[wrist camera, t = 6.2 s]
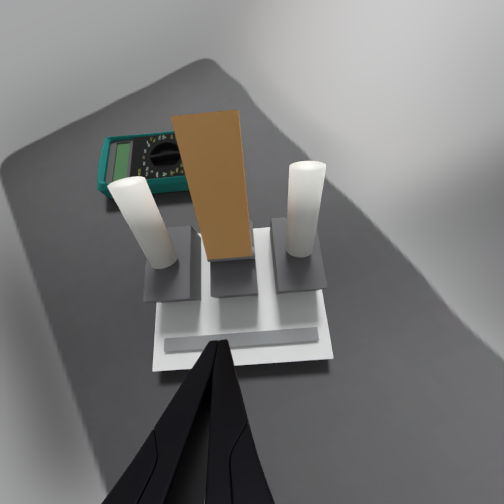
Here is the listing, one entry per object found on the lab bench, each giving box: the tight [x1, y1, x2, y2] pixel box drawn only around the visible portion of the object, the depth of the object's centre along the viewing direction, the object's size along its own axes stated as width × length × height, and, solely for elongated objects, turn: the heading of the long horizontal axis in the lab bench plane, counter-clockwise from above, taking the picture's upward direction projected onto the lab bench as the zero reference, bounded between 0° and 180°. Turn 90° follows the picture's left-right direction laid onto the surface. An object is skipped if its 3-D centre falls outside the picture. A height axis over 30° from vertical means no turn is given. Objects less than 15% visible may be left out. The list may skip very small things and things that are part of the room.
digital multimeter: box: [97, 131, 189, 199], centre depth 22 cm, size 7×15×3 cm, turn 95°
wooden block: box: [170, 110, 255, 262], centre depth 12 cm, size 2×4×9 cm
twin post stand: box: [107, 161, 334, 371], centre depth 14 cm, size 13×15×11 cm
